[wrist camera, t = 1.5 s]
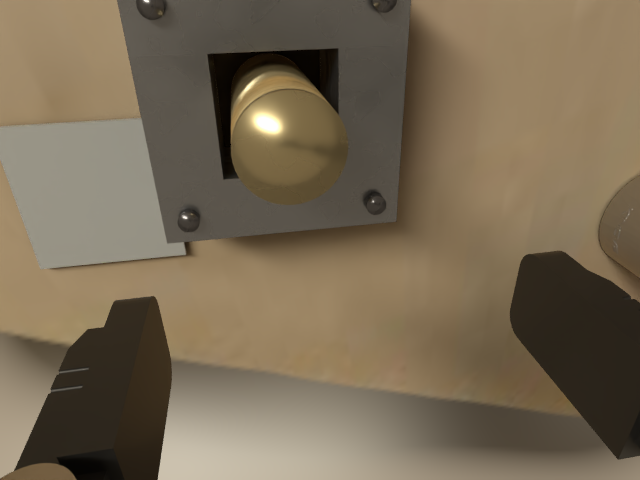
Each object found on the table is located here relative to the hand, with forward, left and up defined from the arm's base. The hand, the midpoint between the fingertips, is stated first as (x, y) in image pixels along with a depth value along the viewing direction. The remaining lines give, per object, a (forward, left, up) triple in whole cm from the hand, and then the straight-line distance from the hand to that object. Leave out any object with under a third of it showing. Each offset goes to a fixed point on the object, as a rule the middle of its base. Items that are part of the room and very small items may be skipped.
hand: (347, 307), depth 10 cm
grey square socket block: (0, 0, -23) cm, 23 cm away
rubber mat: (+12, +6, -23) cm, 27 cm away
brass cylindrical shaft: (0, 0, -23) cm, 23 cm away
